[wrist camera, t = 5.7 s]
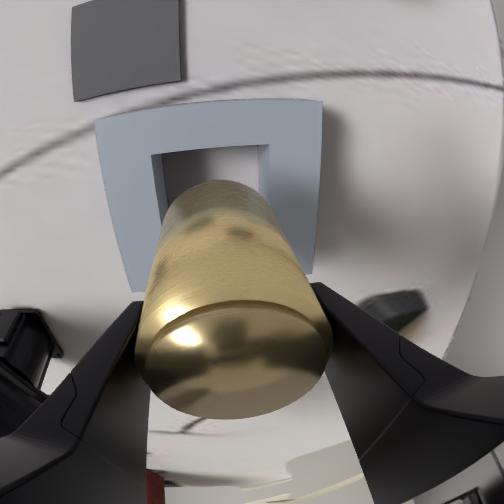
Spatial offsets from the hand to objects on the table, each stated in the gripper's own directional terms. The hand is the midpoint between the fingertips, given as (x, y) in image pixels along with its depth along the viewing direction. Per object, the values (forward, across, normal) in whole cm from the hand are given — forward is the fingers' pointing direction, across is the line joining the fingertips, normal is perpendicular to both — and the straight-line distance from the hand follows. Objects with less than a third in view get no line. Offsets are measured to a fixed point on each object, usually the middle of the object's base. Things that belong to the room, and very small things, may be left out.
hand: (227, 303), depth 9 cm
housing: (+12, 0, 0) cm, 12 cm away
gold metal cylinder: (+5, 0, 0) cm, 5 cm away
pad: (+12, +5, -11) cm, 17 cm away
